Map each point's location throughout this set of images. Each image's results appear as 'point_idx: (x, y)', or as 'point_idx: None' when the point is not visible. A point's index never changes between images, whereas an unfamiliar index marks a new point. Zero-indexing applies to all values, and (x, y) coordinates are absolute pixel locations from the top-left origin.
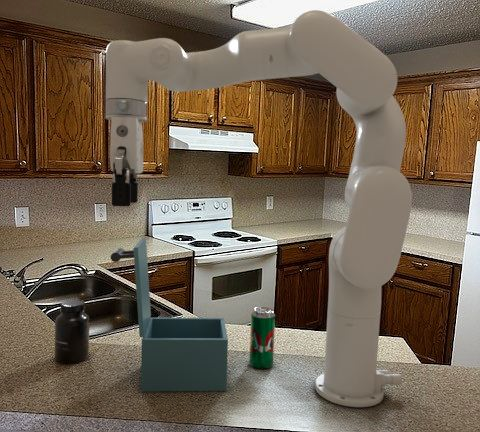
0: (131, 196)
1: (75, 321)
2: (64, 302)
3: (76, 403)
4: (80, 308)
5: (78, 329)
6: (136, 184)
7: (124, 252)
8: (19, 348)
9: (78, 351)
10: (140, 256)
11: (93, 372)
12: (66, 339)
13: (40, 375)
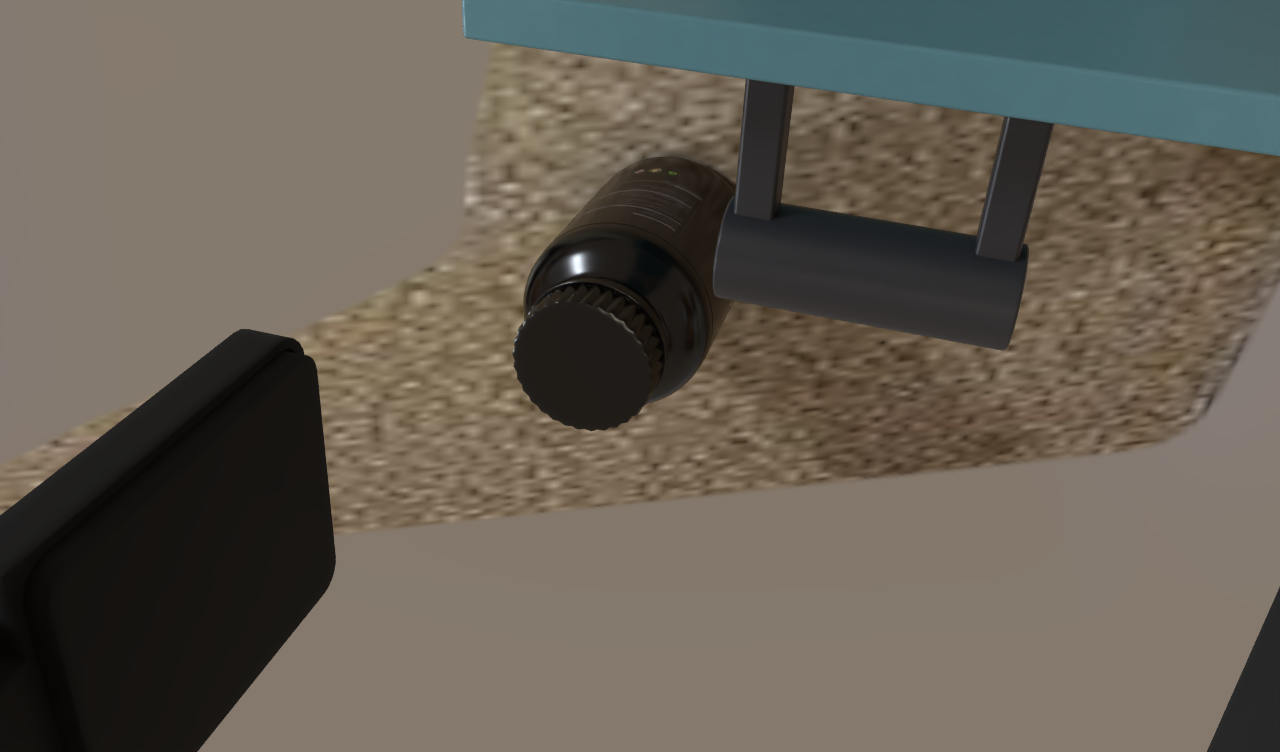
0: (261, 488)
1: (689, 308)
2: (575, 413)
3: (1222, 170)
4: (631, 313)
5: (703, 271)
6: (61, 569)
7: (774, 206)
8: (547, 459)
9: None
10: (1179, 31)
11: (873, 113)
12: (726, 307)
13: (863, 349)
